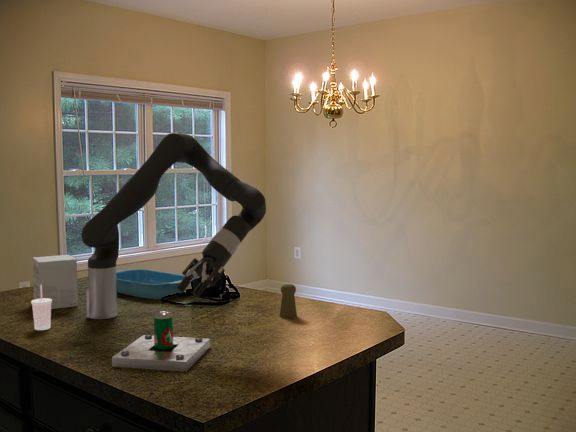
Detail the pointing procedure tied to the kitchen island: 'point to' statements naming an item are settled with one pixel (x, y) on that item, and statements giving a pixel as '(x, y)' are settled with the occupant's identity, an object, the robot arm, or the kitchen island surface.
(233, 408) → the kitchen island surface
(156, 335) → the soda can
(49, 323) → the beverage cup
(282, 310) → the cork
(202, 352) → the socket plate
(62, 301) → the supplement box
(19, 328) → the kitchen island surface
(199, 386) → the kitchen island surface
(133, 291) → the casserole dish
